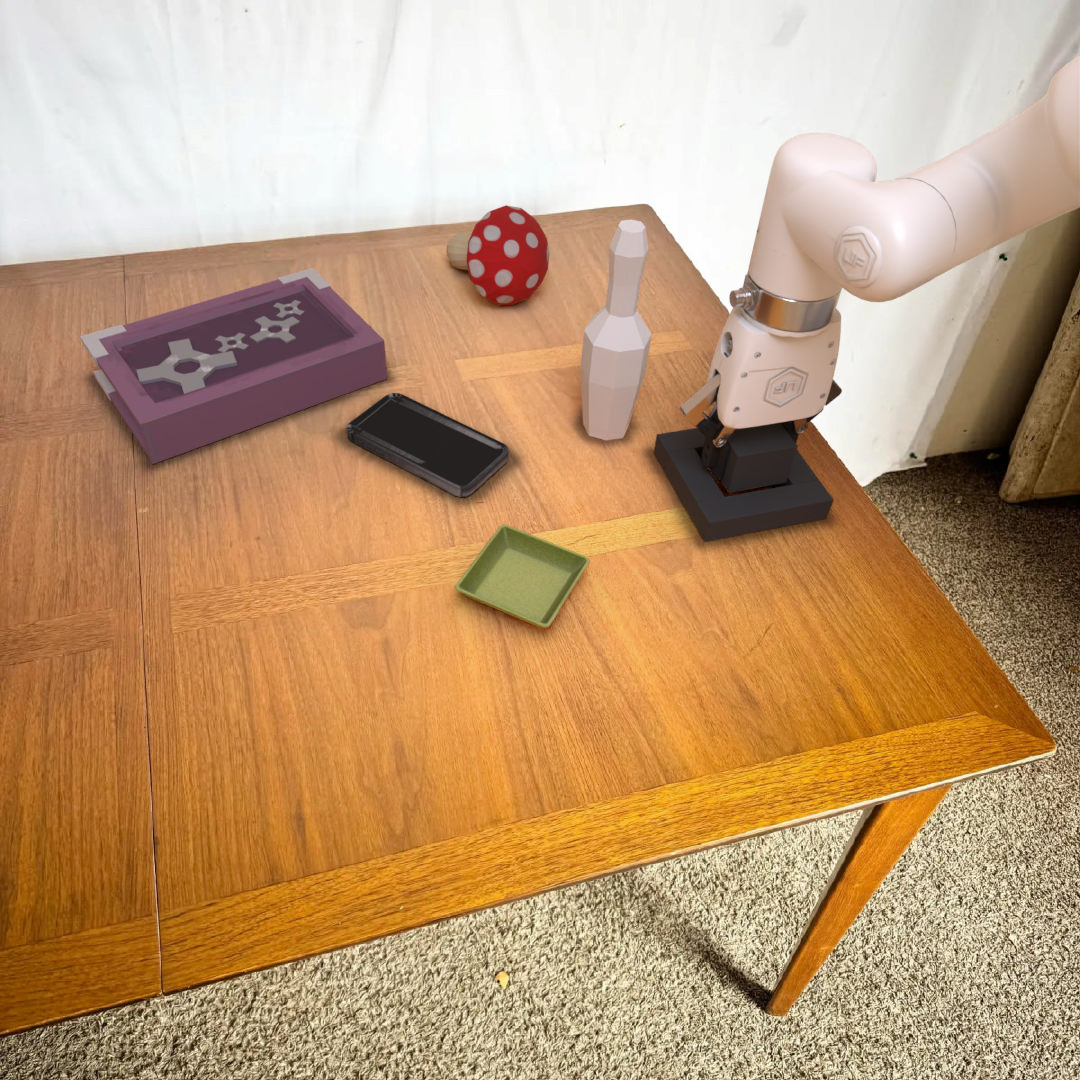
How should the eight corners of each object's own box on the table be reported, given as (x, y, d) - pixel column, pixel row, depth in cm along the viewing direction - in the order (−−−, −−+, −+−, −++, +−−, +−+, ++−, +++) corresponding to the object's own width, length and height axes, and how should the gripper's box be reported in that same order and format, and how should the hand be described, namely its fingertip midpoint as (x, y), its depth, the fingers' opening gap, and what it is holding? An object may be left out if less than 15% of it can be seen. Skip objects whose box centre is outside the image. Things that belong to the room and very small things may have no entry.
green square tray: (590, 574, 84) (592, 557, 82) (546, 643, 78) (547, 627, 77) (501, 538, 86) (502, 522, 85) (453, 604, 81) (453, 587, 79)
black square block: (786, 482, 90) (798, 446, 87) (728, 493, 88) (737, 456, 85) (758, 442, 94) (768, 405, 91) (702, 452, 92) (710, 415, 89)
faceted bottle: (635, 408, 100) (666, 210, 84) (637, 447, 96) (671, 247, 80) (574, 404, 100) (594, 205, 84) (574, 444, 96) (595, 242, 80)
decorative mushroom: (429, 188, 113) (507, 192, 103) (499, 219, 121) (579, 225, 110) (406, 282, 115) (480, 295, 104) (477, 306, 122) (553, 321, 112)
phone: (393, 389, 98) (513, 447, 93) (393, 398, 99) (512, 456, 94) (340, 429, 94) (464, 492, 88) (342, 438, 94) (464, 501, 89)
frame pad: (826, 518, 90) (834, 499, 88) (704, 542, 87) (709, 522, 85) (767, 434, 98) (772, 415, 97) (653, 453, 95) (656, 434, 94)
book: (317, 306, 110) (312, 267, 107) (388, 378, 102) (385, 339, 98) (94, 377, 99) (79, 336, 96) (151, 465, 90) (138, 423, 87)
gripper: (711, 336, 73) (675, 506, 86) (906, 309, 77) (845, 475, 90) (673, 284, 78) (645, 453, 91) (859, 262, 82) (807, 426, 95)
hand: (745, 462), depth 91 cm, fingers closed on black square block, 6 cm apart
